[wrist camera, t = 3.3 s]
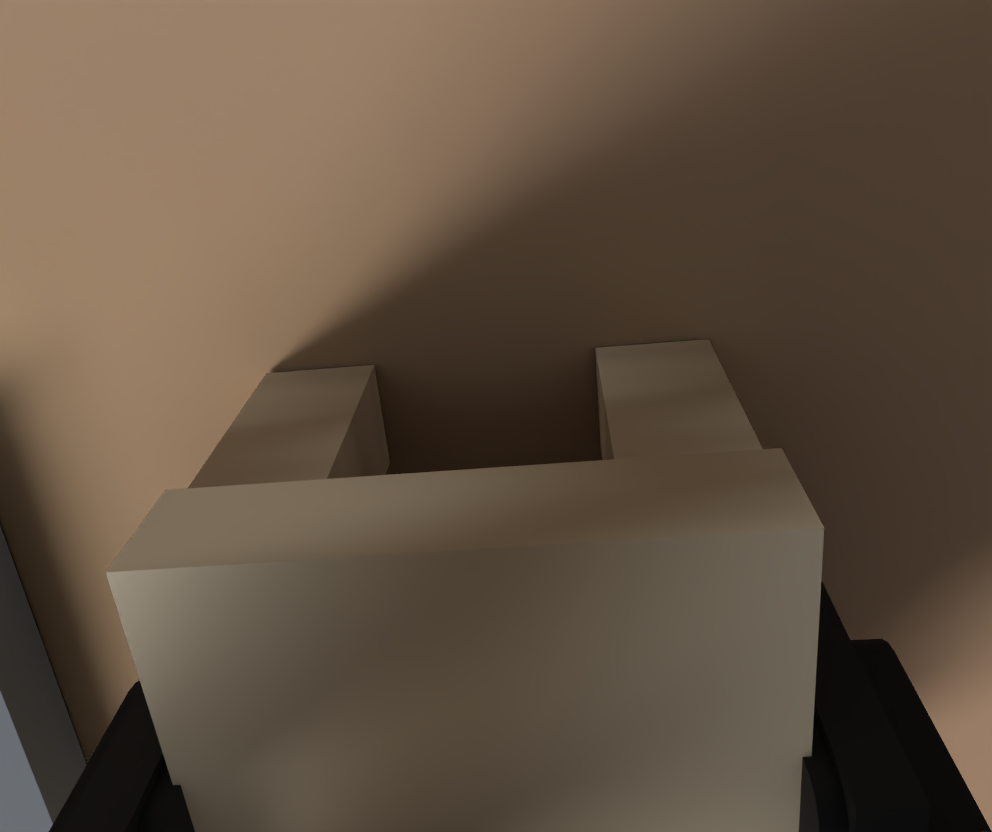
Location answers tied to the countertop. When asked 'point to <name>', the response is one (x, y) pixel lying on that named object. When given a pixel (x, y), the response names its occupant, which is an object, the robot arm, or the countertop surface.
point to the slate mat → (30, 718)
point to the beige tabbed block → (483, 619)
